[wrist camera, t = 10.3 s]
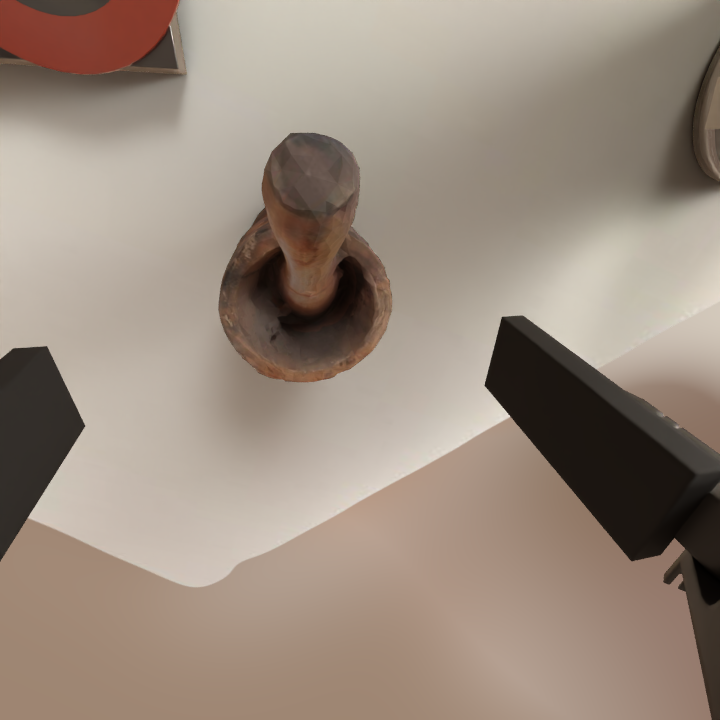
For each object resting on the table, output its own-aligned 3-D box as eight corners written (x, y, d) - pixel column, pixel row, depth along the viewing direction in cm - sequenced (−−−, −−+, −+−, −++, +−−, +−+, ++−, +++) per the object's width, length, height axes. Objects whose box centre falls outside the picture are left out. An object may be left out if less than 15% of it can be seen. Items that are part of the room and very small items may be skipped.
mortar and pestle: (194, 168, 25) (39, 241, 9) (310, 119, 25) (379, 96, 8) (271, 310, 32) (268, 508, 15) (364, 271, 31) (464, 429, 15)
